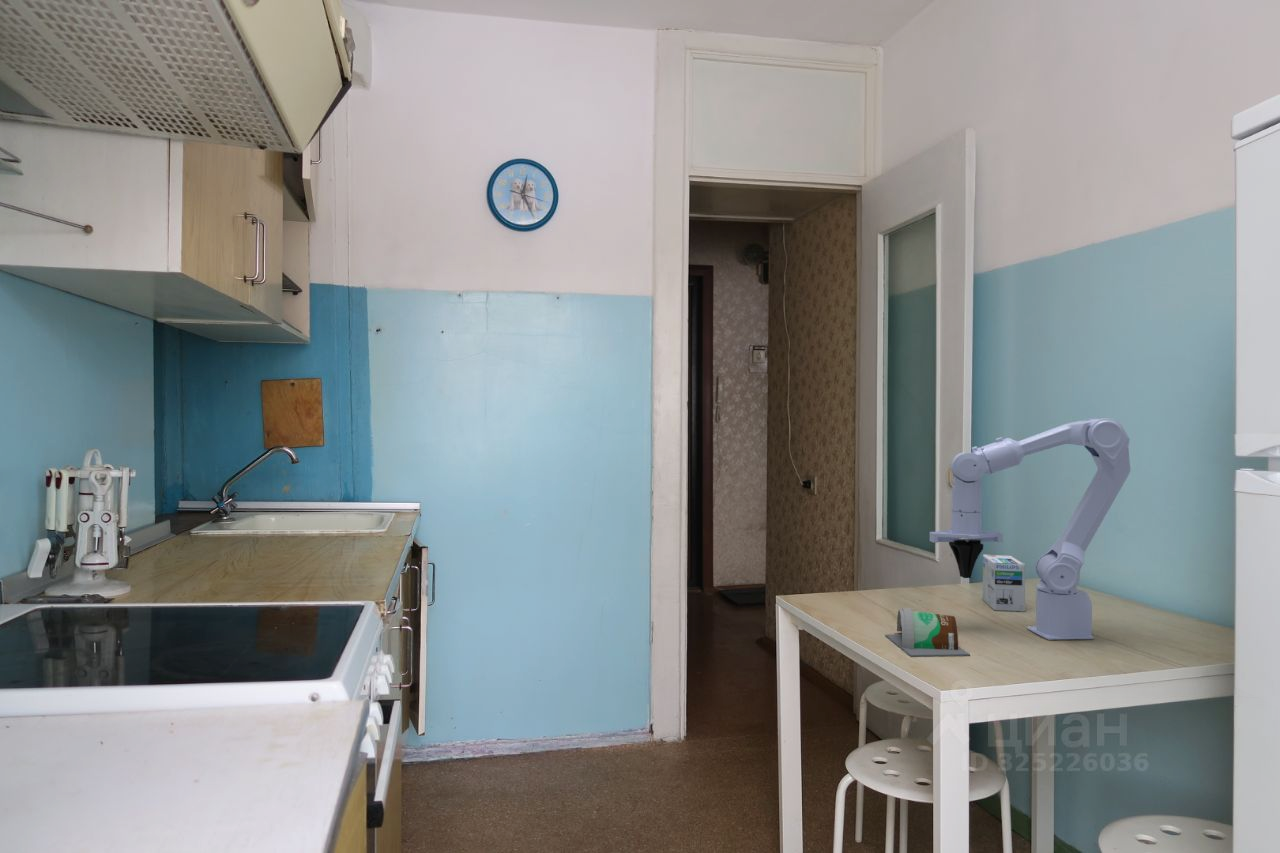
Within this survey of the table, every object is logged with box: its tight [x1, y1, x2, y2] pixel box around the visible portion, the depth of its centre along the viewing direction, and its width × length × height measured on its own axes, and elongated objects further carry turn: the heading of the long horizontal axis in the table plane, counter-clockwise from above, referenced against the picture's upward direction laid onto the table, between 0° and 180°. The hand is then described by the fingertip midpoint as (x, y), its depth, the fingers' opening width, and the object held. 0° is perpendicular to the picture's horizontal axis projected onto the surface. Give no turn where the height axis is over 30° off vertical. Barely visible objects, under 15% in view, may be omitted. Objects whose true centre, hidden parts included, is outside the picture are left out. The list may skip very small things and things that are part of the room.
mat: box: [884, 633, 971, 658], centre depth 154 cm, size 11×13×1 cm
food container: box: [896, 607, 959, 650], centre depth 156 cm, size 12×6×10 cm
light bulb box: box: [982, 554, 1026, 613], centre depth 184 cm, size 11×7×11 cm, turn 171°
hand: (965, 577), depth 166 cm, fingers closed
